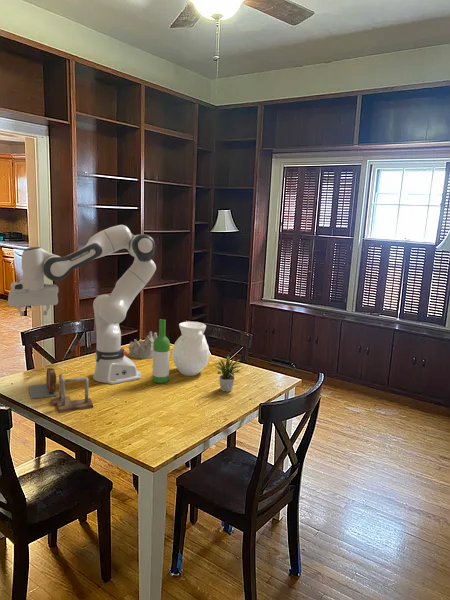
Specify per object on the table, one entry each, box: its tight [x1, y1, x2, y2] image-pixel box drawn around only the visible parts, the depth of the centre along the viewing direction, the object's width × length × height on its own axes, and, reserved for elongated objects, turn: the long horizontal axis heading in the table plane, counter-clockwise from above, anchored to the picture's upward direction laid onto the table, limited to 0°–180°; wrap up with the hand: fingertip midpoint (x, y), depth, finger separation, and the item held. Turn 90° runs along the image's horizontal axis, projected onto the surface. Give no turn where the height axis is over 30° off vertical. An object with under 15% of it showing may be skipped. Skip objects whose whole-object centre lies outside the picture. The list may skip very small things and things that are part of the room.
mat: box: [28, 383, 58, 400], centre depth 195 cm, size 10×14×1 cm
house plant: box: [214, 355, 244, 393], centre depth 205 cm, size 14×14×16 cm
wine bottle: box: [152, 318, 171, 384], centre depth 212 cm, size 8×8×30 cm
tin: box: [45, 367, 57, 393], centre depth 195 cm, size 15×3×8 cm, turn 26°
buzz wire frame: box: [51, 373, 94, 413], centre depth 183 cm, size 14×12×12 cm
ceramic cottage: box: [128, 331, 158, 360], centre depth 252 cm, size 16×16×15 cm
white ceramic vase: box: [171, 321, 210, 376], centre depth 226 cm, size 19×18×25 cm
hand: (33, 315), depth 198 cm, fingers open, 8 cm apart
